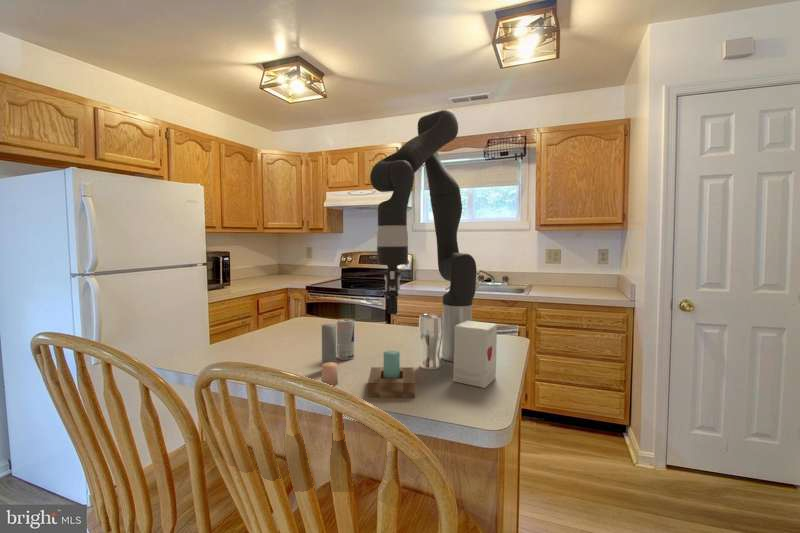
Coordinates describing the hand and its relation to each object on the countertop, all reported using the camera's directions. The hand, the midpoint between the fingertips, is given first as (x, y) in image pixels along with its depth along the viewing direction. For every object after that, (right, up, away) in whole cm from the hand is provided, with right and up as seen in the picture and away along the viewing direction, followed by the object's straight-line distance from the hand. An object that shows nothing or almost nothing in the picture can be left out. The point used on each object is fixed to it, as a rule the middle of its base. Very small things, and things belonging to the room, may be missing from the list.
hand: (392, 310), depth 93 cm
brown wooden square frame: (0, -20, +1) cm, 20 cm away
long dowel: (-18, -19, +14) cm, 30 cm away
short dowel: (-16, -19, +4) cm, 26 cm away
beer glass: (+11, -19, +18) cm, 28 cm away
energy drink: (-15, -18, +26) cm, 35 cm away
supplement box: (+22, -20, +7) cm, 30 cm away
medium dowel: (0, -20, +1) cm, 20 cm away
